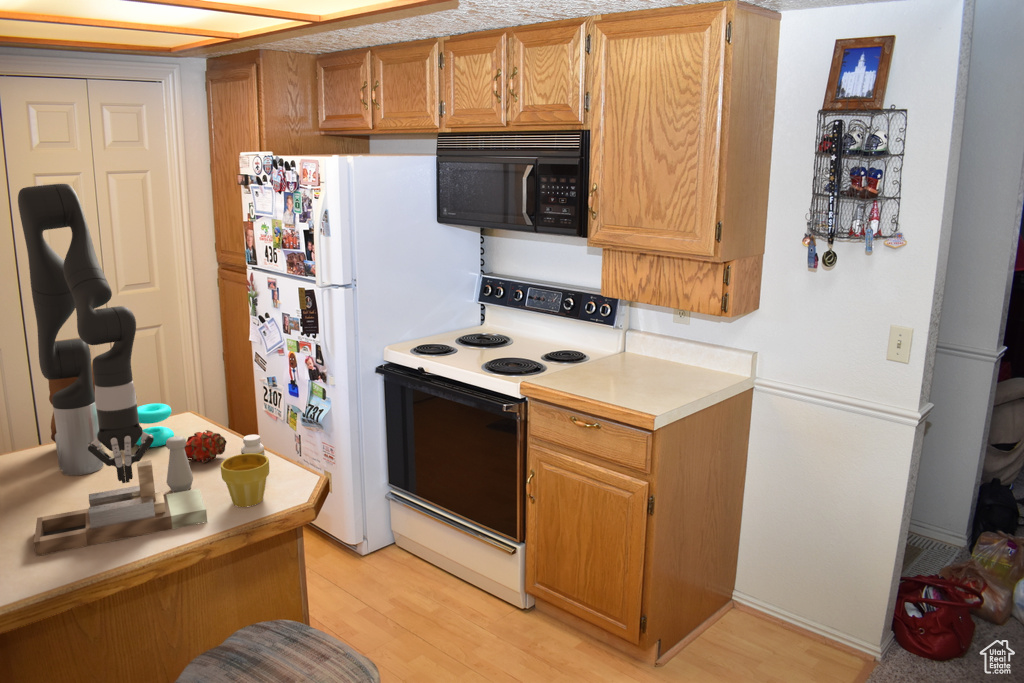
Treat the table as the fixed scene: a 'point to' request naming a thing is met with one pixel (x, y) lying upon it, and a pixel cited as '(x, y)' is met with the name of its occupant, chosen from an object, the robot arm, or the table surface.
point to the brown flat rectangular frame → (77, 530)
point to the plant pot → (245, 478)
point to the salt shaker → (178, 465)
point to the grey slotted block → (119, 507)
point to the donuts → (154, 415)
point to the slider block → (149, 486)
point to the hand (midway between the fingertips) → (125, 481)
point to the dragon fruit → (204, 446)
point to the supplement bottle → (252, 445)
